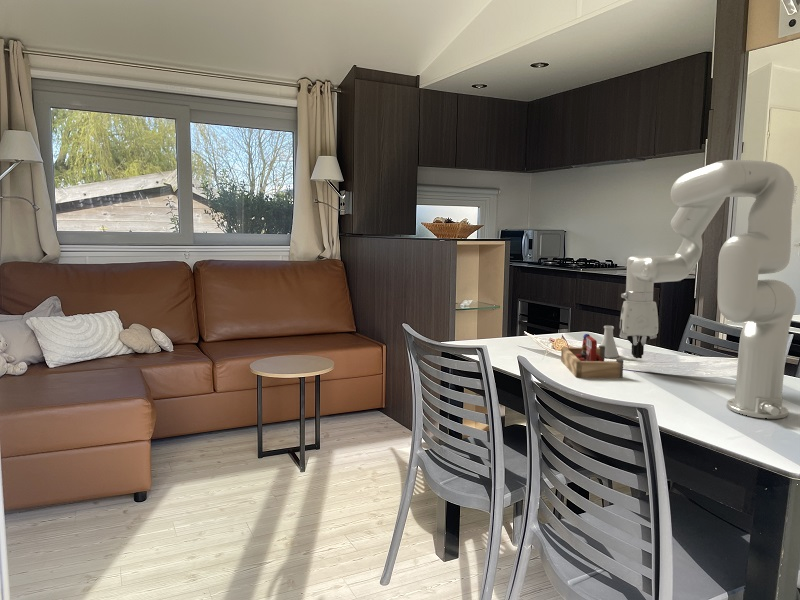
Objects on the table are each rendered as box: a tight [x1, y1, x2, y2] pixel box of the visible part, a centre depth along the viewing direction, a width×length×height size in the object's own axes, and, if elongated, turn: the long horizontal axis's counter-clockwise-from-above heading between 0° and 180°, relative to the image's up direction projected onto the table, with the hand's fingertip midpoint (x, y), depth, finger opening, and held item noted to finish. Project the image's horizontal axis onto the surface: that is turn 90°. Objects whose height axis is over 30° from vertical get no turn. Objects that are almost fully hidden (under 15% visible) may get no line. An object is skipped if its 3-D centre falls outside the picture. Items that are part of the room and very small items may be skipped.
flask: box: [600, 325, 620, 359], centre depth 194 cm, size 7×7×10 cm
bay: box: [560, 345, 624, 379], centre depth 178 cm, size 19×13×5 cm
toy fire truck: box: [575, 333, 603, 361], centre depth 178 cm, size 7×12×10 cm, turn 174°
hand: (637, 357), depth 176 cm, fingers closed
